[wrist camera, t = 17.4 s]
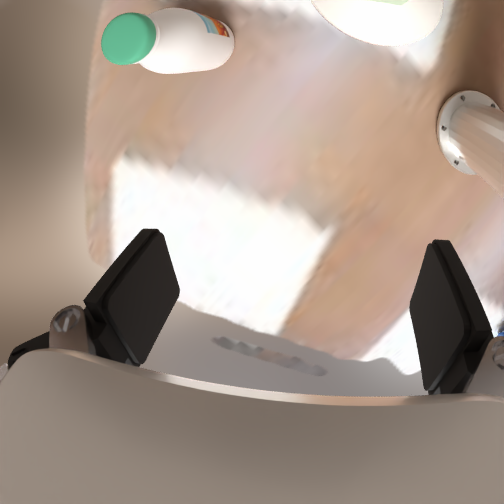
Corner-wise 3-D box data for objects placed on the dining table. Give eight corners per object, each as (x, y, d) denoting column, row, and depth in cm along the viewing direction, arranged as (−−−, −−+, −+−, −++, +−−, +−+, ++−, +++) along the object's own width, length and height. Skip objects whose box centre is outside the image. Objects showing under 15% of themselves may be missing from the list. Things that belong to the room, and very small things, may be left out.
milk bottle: (244, 57, 33) (180, 53, 17) (193, 78, 35) (104, 100, 20) (223, 10, 29) (146, -23, 13) (173, 34, 32) (75, 30, 16)
